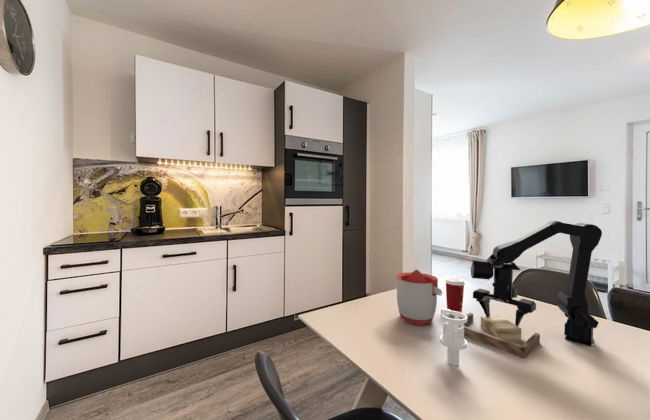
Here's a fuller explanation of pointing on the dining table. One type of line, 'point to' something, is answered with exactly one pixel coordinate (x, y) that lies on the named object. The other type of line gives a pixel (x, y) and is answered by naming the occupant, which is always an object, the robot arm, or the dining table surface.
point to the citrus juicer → (417, 297)
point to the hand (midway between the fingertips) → (502, 322)
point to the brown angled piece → (501, 340)
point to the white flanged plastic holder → (453, 334)
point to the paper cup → (454, 294)
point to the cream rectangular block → (501, 328)
